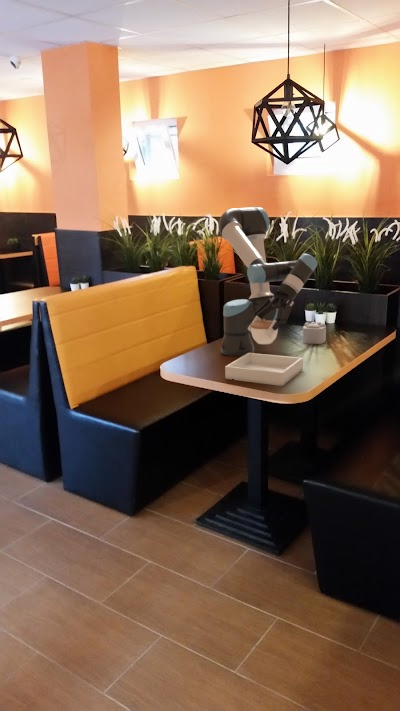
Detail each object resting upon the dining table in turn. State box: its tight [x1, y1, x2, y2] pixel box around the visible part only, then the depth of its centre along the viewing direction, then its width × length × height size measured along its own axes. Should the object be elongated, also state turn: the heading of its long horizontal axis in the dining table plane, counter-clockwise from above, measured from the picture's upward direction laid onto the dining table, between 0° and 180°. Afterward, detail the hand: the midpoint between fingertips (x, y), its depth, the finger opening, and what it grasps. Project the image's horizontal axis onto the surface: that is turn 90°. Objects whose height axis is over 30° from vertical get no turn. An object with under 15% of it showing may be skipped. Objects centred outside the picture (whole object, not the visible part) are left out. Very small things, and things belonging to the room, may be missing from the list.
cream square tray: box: [224, 352, 304, 387], centre depth 236 cm, size 24×22×5 cm
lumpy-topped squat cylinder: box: [302, 321, 327, 345], centre depth 284 cm, size 10×13×9 cm
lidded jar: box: [250, 319, 279, 345], centre depth 232 cm, size 11×11×9 cm
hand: (258, 333), depth 230 cm, fingers closed on lidded jar, 11 cm apart
